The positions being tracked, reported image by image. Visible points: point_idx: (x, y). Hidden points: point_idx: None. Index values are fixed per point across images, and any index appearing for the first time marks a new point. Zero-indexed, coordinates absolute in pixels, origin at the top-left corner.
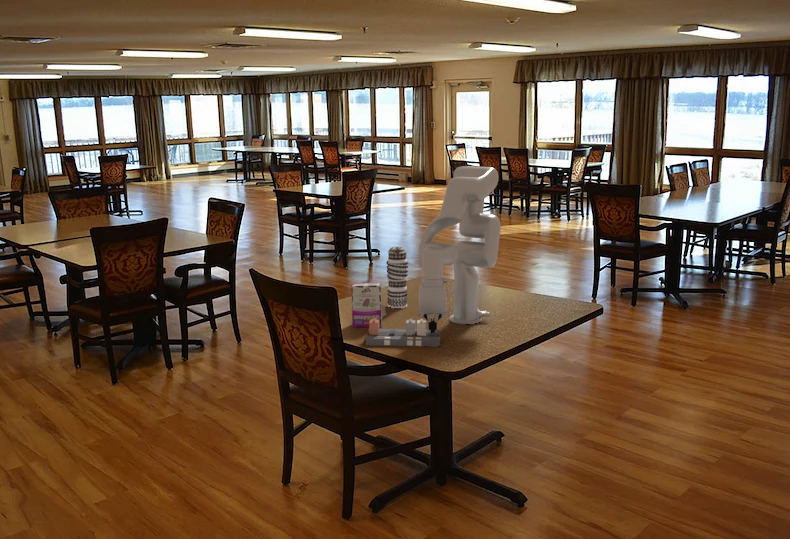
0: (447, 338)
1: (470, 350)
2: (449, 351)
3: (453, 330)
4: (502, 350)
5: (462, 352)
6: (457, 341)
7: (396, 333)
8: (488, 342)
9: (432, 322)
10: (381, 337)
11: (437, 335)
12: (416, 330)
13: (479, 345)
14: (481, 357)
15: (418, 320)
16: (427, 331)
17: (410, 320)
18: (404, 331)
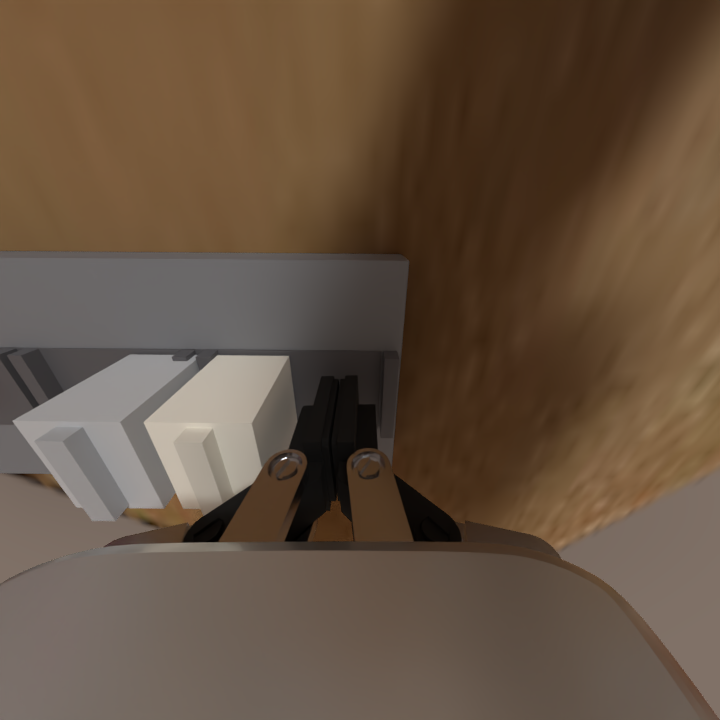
0: (451, 302)
1: (530, 480)
2: (427, 492)
3: (568, 11)
4: (687, 476)
5: (484, 500)
6: (505, 360)
7: (72, 384)
8: (696, 370)
9: (333, 497)
10: (25, 452)
11: (378, 407)
12: (203, 359)
13: (610, 419)
14: (545, 537)
15: (162, 431)
16: (296, 318)
17: (86, 496)
18: (105, 328)
